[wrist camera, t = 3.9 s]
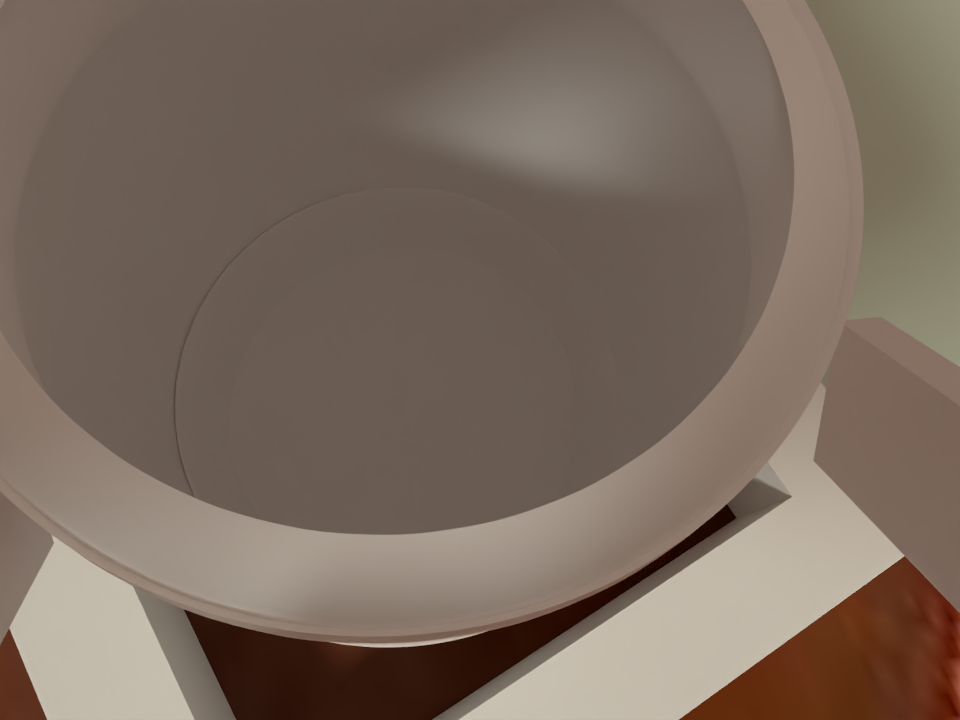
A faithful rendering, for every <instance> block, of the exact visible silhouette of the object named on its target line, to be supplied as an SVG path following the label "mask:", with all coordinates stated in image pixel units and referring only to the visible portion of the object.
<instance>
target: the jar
mask: <svg viewBox="0 0 960 720" xmlns="http://www.w3.org/2000/svg"><path fill="white" fill-rule="evenodd" d="M863 219H864V192H863V175H862V164H861V156H860V149H859V143H858V137H857V132H856V127H855V122H854V118H853V114H852V110H851V106H850V102H849V99H848V96H847V92H846V89H845V86H844V83H843V80H842V77H841V74H840V72H839V69H838V66H837V64H836V61H835V59H834V56H833V54H832V52H831V49H830V47H829V45H828V43H827V41H826V39H825V37H824V34H823V32H822V30H821V28H820V27H819V25H818V23H817V21H816V19H815V17H814V15H813V14H812V12H811V10H810V8H809V7H808V5H807V3H806V2H805V0H0V491H1V492H2V493H3V494H4V495H5V496H6V497H7V498H8V499H9V500H10V501H11V502H12V503H13V504H14V505H16V506H17V507H18V508H19V509H20V510H21V511H22V512H24V513H25V514H26V515H27V516H28V517H30V518H31V519H32V520H33V521H34V522H36V523H37V524H38V525H40V526H41V527H42V528H43V529H45V530H46V531H47V532H49V533H50V534H51V535H53V536H54V537H55V538H57V539H58V540H60V541H61V542H63V543H64V544H65V545H67V546H68V547H70V548H71V549H73V550H74V551H75V552H77V553H78V554H80V555H81V556H82V557H84V558H85V559H87V560H88V561H90V562H92V563H93V564H95V565H96V566H98V567H100V568H101V569H103V570H105V571H106V572H108V573H110V574H112V575H113V576H115V577H117V578H119V579H121V580H123V581H124V582H126V583H128V584H130V585H132V586H134V587H136V588H138V589H140V590H142V591H144V592H146V593H148V594H150V595H152V596H154V597H156V598H159V599H161V600H163V601H165V602H168V603H170V604H172V605H174V606H177V607H179V608H182V609H184V610H187V611H190V612H192V613H195V614H198V615H201V616H204V617H207V618H211V619H214V620H217V621H221V622H224V623H228V624H231V625H235V626H239V627H243V628H247V629H251V630H255V631H259V632H264V633H269V634H273V635H278V636H284V637H290V638H296V639H304V640H313V641H324V642H332V643H338V644H345V645H353V646H365V647H410V646H421V645H429V644H436V643H442V642H448V641H453V640H457V639H462V638H466V637H470V636H473V635H477V634H480V633H483V632H487V631H490V630H494V629H499V628H503V627H507V626H511V625H514V624H518V623H521V622H525V621H528V620H531V619H534V618H537V617H540V616H543V615H545V614H548V613H551V612H553V611H556V610H559V609H561V608H564V607H566V606H569V605H571V604H574V603H576V602H578V601H581V600H583V599H585V598H588V597H590V596H592V595H594V594H596V593H599V592H601V591H603V590H605V589H607V588H609V587H611V586H613V585H615V584H617V583H618V582H620V581H622V580H624V579H626V578H627V577H629V576H631V575H632V574H634V573H636V572H637V571H639V570H640V569H642V568H644V567H645V566H647V565H648V564H650V563H651V562H653V561H654V560H656V559H657V558H659V557H660V556H662V555H663V554H665V553H666V552H667V551H669V550H670V549H672V548H673V547H674V546H676V545H677V544H679V543H680V542H681V541H683V540H684V539H685V538H687V537H688V536H689V535H690V534H692V533H693V532H694V531H695V530H697V529H698V528H699V527H700V526H701V525H703V524H704V523H705V522H706V521H708V520H709V519H710V518H711V517H713V516H714V515H715V514H716V513H717V512H718V511H720V510H721V509H722V508H723V507H724V506H725V505H726V504H727V503H728V502H730V501H731V500H732V499H733V498H734V497H735V496H736V495H737V494H738V493H739V492H740V491H741V490H742V489H743V488H744V487H745V486H746V485H747V484H748V483H749V482H750V481H751V480H752V479H753V478H754V476H755V475H756V474H757V473H758V472H759V471H760V470H761V469H762V468H763V466H764V465H765V464H766V463H767V462H768V461H769V459H770V458H771V457H772V456H773V454H774V453H775V452H776V451H777V449H778V448H779V447H780V446H781V444H782V443H783V442H784V440H785V439H786V438H787V436H788V435H789V433H790V432H791V431H792V429H793V428H794V426H795V425H796V423H797V422H798V420H799V419H800V417H801V416H802V414H803V412H804V411H805V409H806V407H807V406H808V404H809V402H810V401H811V399H812V397H813V395H814V394H815V392H816V390H817V388H818V386H819V384H820V382H821V380H822V378H823V376H824V374H825V372H826V370H827V368H828V366H829V364H830V361H831V359H832V357H833V355H834V352H835V350H836V347H837V345H838V342H839V339H840V337H841V334H842V331H843V328H844V325H845V322H846V319H847V316H848V312H849V309H850V305H851V301H852V297H853V293H854V289H855V284H856V279H857V274H858V268H859V262H860V255H861V247H862V236H863Z"/></svg>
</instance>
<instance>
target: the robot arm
mask: <svg viewBox="0 0 960 720" xmlns="http://www.w3.org/2000/svg"><path fill="white" fill-rule="evenodd" d="M813 461H814V462H815V463H816V464H817V465H818V466H819V467H820V468H821V469H822V470H823V471H824V472H825V473H826V474H827V475H828V476H829V477H830V478H831V480H832V481H833V482H834V483H835V484H836V485H837V486H838V487H839V488H840V489H841V490H842V491H843V492H844V493H845V494H846V495H847V496H848V497H849V498H850V499H851V500H852V501H853V502H854V503H855V505H856V506H857V507H858V508H859V509H860V510H861V511H862V512H863V513H864V514H865V515H866V516H867V517H868V518H869V519H870V520H871V521H872V522H873V523H874V524H875V525H876V526H877V527H878V528H879V530H880V531H881V532H882V533H883V534H884V535H885V536H886V537H887V538H888V539H889V540H890V541H891V542H892V543H893V544H894V545H895V546H896V547H897V548H898V549H899V550H900V551H901V552H902V553H903V555H904V556H905V557H906V558H907V559H908V560H909V561H910V562H911V563H912V564H913V565H914V566H915V567H916V568H917V569H918V570H919V571H920V572H921V573H922V574H923V575H924V576H925V577H926V578H927V580H928V581H929V582H930V583H931V584H932V585H933V586H934V587H935V588H936V589H937V590H938V591H939V592H940V593H941V594H942V595H943V596H944V597H945V598H946V599H947V600H948V601H949V602H950V603H951V605H952V606H953V607H954V608H955V609H956V610H957V611H958V612H959V613H960V367H959V366H957V365H956V364H954V363H953V362H951V361H950V360H948V359H946V358H945V357H943V356H942V355H940V354H939V353H937V352H935V351H934V350H932V349H931V348H929V347H928V346H926V345H924V344H923V343H921V342H920V341H918V340H917V339H915V338H913V337H912V336H910V335H909V334H907V333H906V332H904V331H902V330H901V329H899V328H898V327H896V326H895V325H893V324H891V323H890V322H888V321H887V320H885V319H884V318H882V317H875V318H864V319H852V320H846V322H845V325H844V328H843V331H842V334H841V337H840V339H839V342H838V345H837V347H836V350H835V352H834V355H833V357H832V359H831V365H830V371H829V376H828V382H827V387H826V393H825V398H824V404H823V409H822V415H821V421H820V426H819V432H818V437H817V443H816V448H815V454H814V460H813ZM53 544H54V541H53V538H52V535H51V534H50V533H49V532H47V531H46V530H45V529H43V528H42V527H41V526H40V525H38V524H37V523H36V522H34V521H33V520H32V519H31V518H30V517H28V516H27V515H26V514H25V513H24V512H22V511H21V510H20V509H19V508H18V507H17V506H16V505H14V504H13V503H12V502H11V501H10V500H9V499H8V498H7V497H6V496H5V495H4V494H3V493H2V492H1V491H0V644H1V642H2V640H3V639H4V637H5V635H6V633H7V631H8V629H9V627H10V625H11V623H12V622H13V620H14V618H15V616H16V614H17V612H18V610H19V608H20V606H21V605H22V603H23V601H24V599H25V597H26V595H27V593H28V591H29V589H30V587H31V586H32V584H33V582H34V580H35V578H36V576H37V574H38V572H39V570H40V569H41V567H42V565H43V563H44V561H45V559H46V557H47V555H48V553H49V552H50V550H51V548H52V546H53Z"/></svg>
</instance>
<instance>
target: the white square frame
mask: <svg viewBox="0 0 960 720" xmlns="http://www.w3.org/2000/svg"><path fill="white" fill-rule="evenodd" d="M825 393H826V388H825V387H824V385H823V384H822V383H821V382H820V384H819V386H818V388H817V390H816V392H815V394H814V395H813V397H812V399H811V401H810V402H809V404H808V406H807V407H806V409H805V411H804V412H803V414H802V416H801V417H800V419H799V420H798V422H797V423H796V425H795V426H794V428H793V429H792V431H791V432H790V433H789V435H788V436H787V438H786V439H785V440H784V442H783V443H782V444H781V446H780V447H779V448H778V449H777V451H776V452H775V453H774V454H773V456H772V457H771V458H770V459H769V461H768V462H767V463H766V464H765V465H764V466H763V468H762V469H761V470H760V471H759V472H758V473H757V474H756V475H755V476H754V478H753V479H752V480H751V481H750V482H749V483H748V484H747V485H746V486H745V487H744V488H743V489H742V490H741V491H740V492H739V493H738V494H737V495H736V496H735V497H734V498H733V499H732V500H731V501H730V502H728V503H727V505H728V507H729V508H730V510H731V511H732V512H733V514H734V515H735V517H736V519H735V520H733V521H732V522H730V523H729V524H727V525H725V526H724V527H722V528H721V529H719V530H718V531H716V532H715V533H713V534H712V535H710V536H709V537H707V538H706V539H704V540H703V541H701V542H700V543H698V544H697V545H695V546H694V547H692V548H691V549H689V550H688V551H686V552H685V553H683V554H682V555H680V556H679V557H677V558H676V559H674V560H673V561H671V562H670V563H668V564H667V565H665V566H664V567H662V568H661V569H659V570H658V571H656V572H654V573H653V574H651V575H650V576H648V577H647V578H645V579H644V580H642V581H641V582H639V583H638V584H636V585H635V586H633V587H632V588H630V589H629V590H627V591H626V592H624V593H623V594H621V595H620V596H618V597H617V598H615V599H614V600H612V601H611V602H609V603H608V604H606V605H605V606H603V607H602V608H600V609H599V610H597V611H596V612H594V613H593V614H591V615H590V616H588V617H587V618H585V619H583V620H582V621H580V622H579V623H577V624H576V625H574V626H573V627H571V628H570V629H568V630H567V631H565V632H564V633H562V634H561V635H559V636H558V637H556V638H555V639H553V640H552V641H550V642H549V643H547V644H546V645H544V646H543V647H541V648H540V649H538V650H537V651H535V652H534V653H532V654H531V655H529V656H528V657H526V658H525V659H523V660H522V661H520V662H519V663H517V664H516V665H514V666H513V667H511V668H509V669H508V670H506V671H505V672H503V673H502V674H500V675H499V676H497V677H496V678H494V679H493V680H491V681H490V682H488V683H487V684H485V685H484V686H482V687H481V688H479V689H478V690H476V691H475V692H473V693H472V694H470V695H469V696H467V697H466V698H464V699H463V700H461V701H460V702H458V703H457V704H455V705H454V706H452V707H451V708H449V709H448V710H446V711H445V712H443V713H442V714H440V715H438V716H437V717H435V718H434V719H432V720H679V719H680V718H681V717H683V716H684V715H685V714H687V713H688V712H690V711H691V710H692V709H694V708H695V707H696V706H698V705H699V704H701V703H702V702H703V701H705V700H706V699H708V698H709V697H710V696H712V695H713V694H714V693H716V692H717V691H719V690H720V689H721V688H723V687H724V686H725V685H727V684H728V683H730V682H731V681H732V680H734V679H735V678H737V677H738V676H739V675H741V674H742V673H743V672H745V671H746V670H748V669H749V668H750V667H752V666H753V665H755V664H756V663H757V662H759V661H760V660H761V659H763V658H764V657H766V656H767V655H768V654H770V653H771V652H772V651H774V650H775V649H777V648H778V647H779V646H781V645H782V644H784V643H785V642H786V641H788V640H789V639H790V638H792V637H793V636H795V635H796V634H797V633H799V632H800V631H801V630H803V629H804V628H806V627H807V626H808V625H810V624H811V623H813V622H814V621H815V620H817V619H818V618H819V617H821V616H822V615H824V614H825V613H826V612H828V611H829V610H830V609H832V608H833V607H835V606H836V605H837V604H839V603H840V602H842V601H843V600H844V599H846V598H847V597H848V596H850V595H851V594H853V593H854V592H855V591H857V590H858V589H860V588H861V587H862V586H864V585H865V584H866V583H868V582H869V581H871V580H872V579H873V578H875V577H876V576H877V575H879V574H880V573H882V572H883V571H884V570H886V569H887V568H889V567H890V566H891V565H893V564H894V563H895V562H897V561H898V560H900V559H901V558H902V557H904V555H903V553H902V552H901V551H900V550H899V549H898V548H897V547H896V546H895V545H894V544H893V543H892V542H891V541H890V540H889V539H888V538H887V537H886V536H885V535H884V534H883V533H882V532H881V531H880V530H879V528H878V527H877V526H876V525H875V524H874V523H873V522H872V521H871V520H870V519H869V518H868V517H867V516H866V515H865V514H864V513H863V512H862V511H861V510H860V509H859V508H858V507H857V506H856V505H855V503H854V502H853V501H852V500H851V499H850V498H849V497H848V496H847V495H846V494H845V493H844V492H843V491H842V490H841V489H840V488H839V487H838V486H837V485H836V484H835V483H834V482H833V481H832V480H831V478H830V477H829V476H828V475H827V474H826V473H825V472H824V471H823V470H822V469H821V468H820V467H819V466H818V465H817V464H816V463H815V462H814V461H813V460H814V454H815V448H816V443H817V437H818V432H819V426H820V421H821V415H822V409H823V404H824V398H825ZM52 538H53V541H54V544H53V546H52V548H51V550H50V552H49V553H48V555H47V557H46V559H45V561H44V563H43V565H42V567H41V569H40V570H39V572H38V574H37V576H36V578H35V580H34V582H33V584H32V586H31V587H30V589H29V591H28V593H27V595H26V597H25V599H24V601H23V603H22V605H21V606H20V608H19V610H18V612H17V614H16V616H15V618H14V620H13V622H12V623H11V625H10V627H9V628H10V630H11V633H12V635H13V638H14V640H15V643H16V645H17V647H18V650H19V652H20V655H21V657H22V660H23V662H24V664H25V667H26V669H27V672H28V674H29V677H30V679H31V681H32V684H33V686H34V689H35V691H36V693H37V696H38V698H39V701H40V703H41V706H42V708H43V710H44V713H45V715H46V718H47V720H236V718H235V716H234V714H233V712H232V710H231V708H230V706H229V704H228V701H227V699H226V697H225V695H224V693H223V691H222V689H221V687H220V685H219V682H218V680H217V678H216V676H215V674H214V672H213V670H212V668H211V666H210V664H209V661H208V659H207V657H206V655H205V653H204V651H203V649H202V647H201V645H200V643H199V640H198V638H197V636H196V634H195V632H194V630H193V628H192V626H191V624H190V621H189V619H188V617H187V615H186V613H185V611H184V609H182V608H179V607H177V606H174V605H172V604H170V603H168V602H165V601H163V600H161V599H159V598H156V597H154V596H152V595H150V594H148V593H146V592H144V591H142V590H140V589H138V588H136V587H134V586H132V585H130V584H128V583H126V582H124V581H123V580H121V579H119V578H117V577H115V576H113V575H112V574H110V573H108V572H106V571H105V570H103V569H101V568H100V567H98V566H96V565H95V564H93V563H92V562H90V561H88V560H87V559H85V558H84V557H82V556H81V555H80V554H78V553H77V552H75V551H74V550H73V549H71V548H70V547H68V546H67V545H65V544H64V543H63V542H61V541H60V540H58V539H57V538H55V537H54V536H53V535H52Z"/></svg>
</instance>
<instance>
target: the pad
mask: <svg viewBox="0 0 960 720" xmlns="http://www.w3.org/2000/svg"><path fill="white" fill-rule="evenodd" d="M805 2H806V3H807V5H808V7H809V8H810V10H811V12H812V14H813V15H814V17H815V19H816V21H817V23H818V25H819V27H820V28H821V30H822V32H823V34H824V37H825V39H826V41H827V43H828V45H829V47H830V49H831V52H832V54H833V56H834V59H835V61H836V64H837V66H838V69H839V72H840V74H841V77H842V80H843V83H844V86H845V89H846V92H847V96H848V99H849V102H850V106H851V110H852V114H853V118H854V122H855V127H856V132H857V137H858V143H859V149H860V156H861V164H862V175H863V192H864V219H863V236H862V247H861V255H860V262H859V268H858V274H857V279H856V284H855V289H854V293H853V297H852V301H851V305H850V309H849V312H848V316H847V319H846V320H852V319H864V318H875V317H882V318H884V319H885V320H887V321H888V322H890V323H891V324H893V325H895V326H896V327H898V328H899V329H901V330H902V331H904V332H906V333H907V334H909V335H910V336H912V337H913V338H915V339H917V340H918V341H920V342H921V343H923V344H924V345H926V346H928V347H929V348H931V349H932V350H934V351H935V352H937V353H939V354H940V355H942V356H943V357H945V358H946V359H948V360H950V361H951V362H953V363H954V364H956V365H957V366H959V367H960V0H805ZM830 365H831V361H830V364H829V366H828V368H827V370H826V372H825V374H824V376H823V378H822V380H821V383H822V384H823V385H824V387H825V388H826V387H827V382H828V376H829V371H830Z"/></svg>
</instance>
